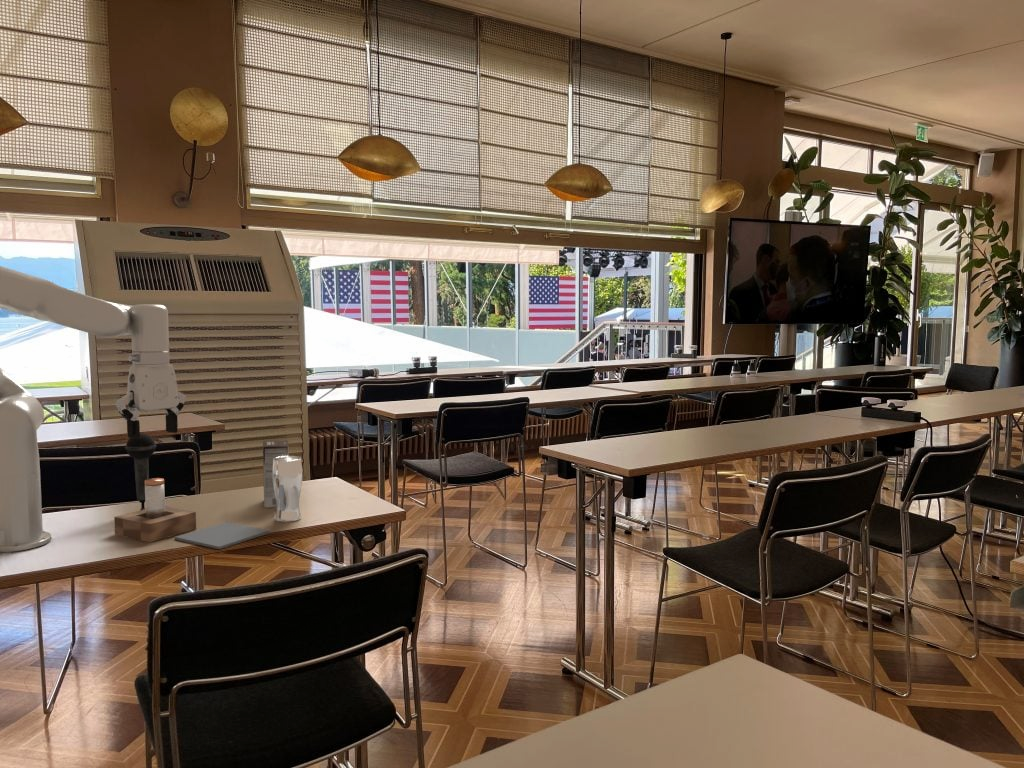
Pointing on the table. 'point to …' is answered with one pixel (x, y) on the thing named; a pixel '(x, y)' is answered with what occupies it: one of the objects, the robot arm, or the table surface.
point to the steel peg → (154, 498)
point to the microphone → (141, 462)
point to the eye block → (155, 524)
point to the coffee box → (271, 468)
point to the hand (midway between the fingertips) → (153, 435)
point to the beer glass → (287, 487)
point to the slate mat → (222, 535)
